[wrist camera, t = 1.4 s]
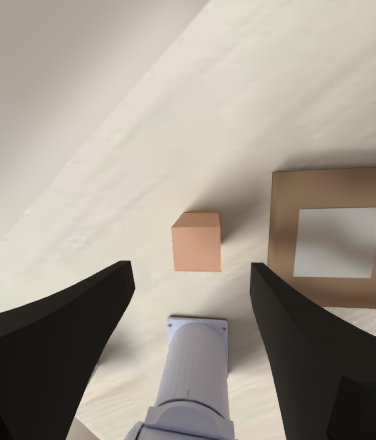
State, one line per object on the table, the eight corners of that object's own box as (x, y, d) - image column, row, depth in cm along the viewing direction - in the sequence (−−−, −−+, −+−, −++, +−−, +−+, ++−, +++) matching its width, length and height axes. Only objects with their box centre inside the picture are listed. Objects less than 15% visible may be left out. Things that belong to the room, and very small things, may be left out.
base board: (369, 296, 20) (386, 309, 18) (265, 292, 22) (271, 304, 20) (397, 165, 17) (421, 164, 15) (272, 172, 19) (279, 172, 16)
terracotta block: (218, 245, 21) (220, 272, 15) (184, 245, 22) (174, 271, 16) (218, 212, 20) (220, 226, 15) (182, 212, 21) (171, 227, 15)
